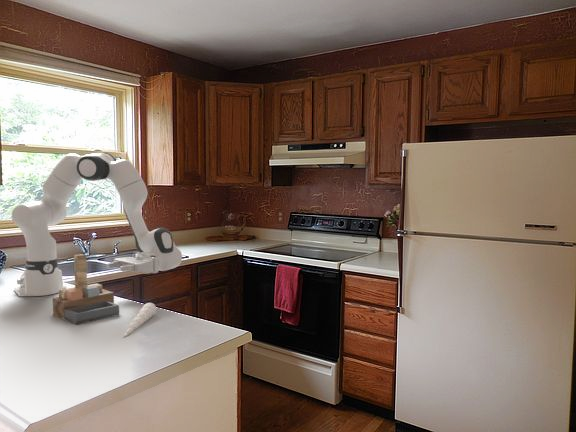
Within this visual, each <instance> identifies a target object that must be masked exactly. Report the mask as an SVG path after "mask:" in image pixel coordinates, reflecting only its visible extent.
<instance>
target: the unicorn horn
mask: <svg viewBox="0 0 576 432" xmlns="http://www.w3.org/2000/svg"><path fill="white" fill-rule="evenodd" d="M156 313H157V307H156V305H155V304H154V303H152V302H147V303H145V304H144V305H143V306H142V307H141V309H140V310H139V311H138V313H137V314H136V316H135V317H134V318H133V320H132V321H131V323H130V324H129V325H128V327H127V328H126V330H125V333H124V335H123V338H126V337H127V336H129V335H130V334H132V333H133V332H134V331H136V330H137V329H139V328H140V326H142V325H143V324H144V323H146V322H147V321H148V320H150V318H152V317H153V316H154V315H156Z"/></svg>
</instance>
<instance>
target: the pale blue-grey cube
mask: <svg viewBox="0 0 576 432" xmlns="http://www.w3.org/2000/svg"><path fill="white" fill-rule="evenodd" d="M98 295H99V287H97V286H88V287H83V296H86V297H93V296H98Z"/></svg>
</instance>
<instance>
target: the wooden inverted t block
mask: <svg viewBox="0 0 576 432" xmlns="http://www.w3.org/2000/svg"><path fill="white" fill-rule="evenodd" d="M73 263H74V266H73V267H74V287H69V288H66V289H63V290H59V293H58V297H60V298H63V299H66V290H71V289H77V288H78V289H81V290H83V287H88V286H97V287H99V292H102V289H103V284H100V283H92V284H88V274H87V273H88V271H87V269H88V267H87V254H83V253H80V254H74V255H73Z"/></svg>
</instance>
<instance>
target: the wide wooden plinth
mask: <svg viewBox="0 0 576 432" xmlns="http://www.w3.org/2000/svg"><path fill="white" fill-rule="evenodd" d="M114 295H115V293H114V291H110V290H107V289H103V288H102V292H99V295H98V296H93V297H86V296H83V299H78V300H73V301H71V300H68V299H63V298H60V297H59V296H55V297H52V313H53V314H52V315H53V316H55V317H58V318H61V319H63V320H65V313H64V310H65V309H69V308H74V307H79V306H84V305H89V304H93V303H98V302H103V301H109V302H111V303H114V304H115V296H114Z"/></svg>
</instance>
